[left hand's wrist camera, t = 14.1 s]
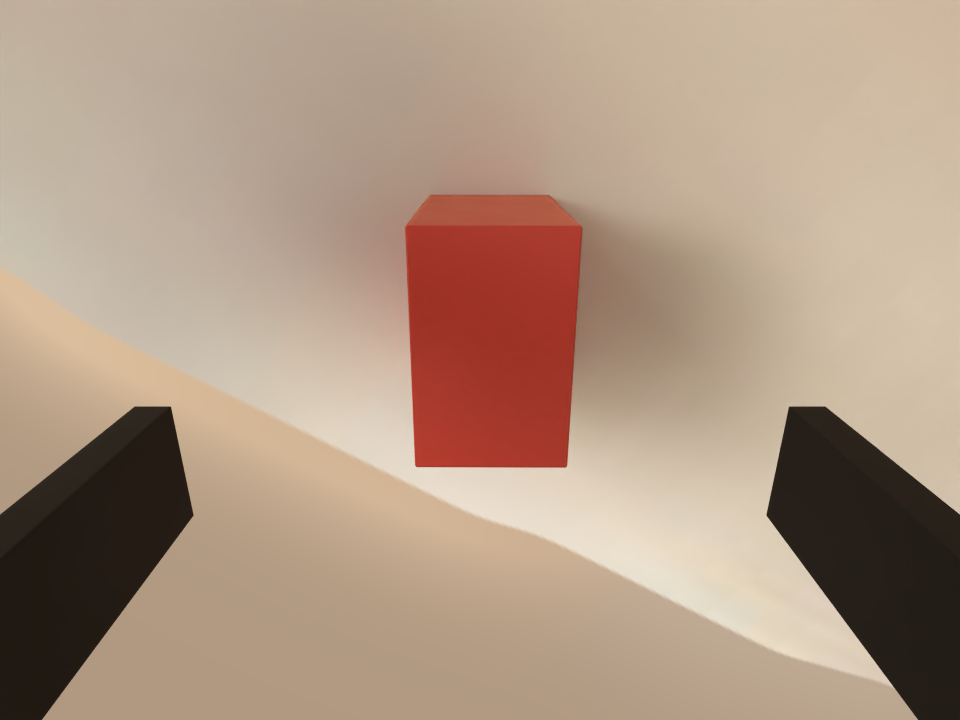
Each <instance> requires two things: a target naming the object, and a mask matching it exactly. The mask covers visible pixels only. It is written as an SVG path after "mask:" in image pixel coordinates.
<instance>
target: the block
mask: <svg viewBox="0 0 960 720" xmlns="http://www.w3.org/2000/svg"><path fill="white" fill-rule="evenodd" d="M405 233H406V257H407V281H408V304H409V328H410V352H411V376H412V400H413V424H414V448H415V465H416V467H567V459H568V444H569V428H570V413H571V397H572V381H573V366H574V350H575V335H576V319H577V304H578V288H579V273H580V257H581V242H582V226H581V225H580V224H579V223H578V222H577V221H576V220H574V219H573V218H572V217H571V216H570V215H569V214H568V213H567V212H566V211H565V210H564V209H563V208H562V207H561V206H560V205H559V204H558V203H557V202H555V201H554V200H553V199H552V198H551V197H550V196H549V195H430V196H429V197H428V198H427V200H426V201H425V202H424V203H423V205H422V206H421V207H420V209H419V210H418V211H417V212H416V214H415V215H414V216H413V217H412V219H411V220H410V221H409V223H408V224H407V225H406V227H405Z"/></svg>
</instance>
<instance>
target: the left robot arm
mask: <svg viewBox="0 0 960 720" xmlns="http://www.w3.org/2000/svg"><path fill="white" fill-rule="evenodd" d="M192 517H193V511H192V506H191V501H190V496H189V492H188V487H187V482H186V477H185V472H184V467H183V463H182V458H181V453H180V448H179V443H178V439H177V434H176V429H175V425H174V420H173V415H172V410H171V407H134V408H133V409H131V410H130V411H129V412H127V413H126V414H125V415H124V416H122V417H121V418H120V419H119V420H117V421H116V422H115V423H114V424H113V425H111V426H110V427H109V428H108V429H106V430H105V431H104V432H103V433H101V434H100V435H99V436H98V437H96V438H95V439H94V440H93V441H91V442H90V443H89V444H88V445H86V446H85V447H84V448H83V449H81V450H80V451H79V452H78V453H76V454H75V455H74V456H73V457H71V458H70V459H69V460H68V461H66V462H65V463H64V464H63V465H61V466H60V467H59V468H58V469H57V470H55V471H54V472H53V473H51V474H50V475H49V476H48V477H46V478H45V479H44V480H43V481H42V482H40V483H39V484H38V485H37V486H35V487H34V488H33V489H32V490H30V491H29V492H28V493H27V494H25V495H24V496H23V497H22V498H20V499H19V500H18V501H17V502H15V503H14V504H13V505H12V506H10V507H9V508H8V509H7V510H5V511H4V512H3V513H2V514H0V720H42V719H43V718H44V716H45V715H46V713H47V712H48V711H49V709H50V708H51V707H52V705H53V704H54V703H55V701H56V700H57V699H58V697H59V696H60V695H61V693H62V692H63V691H64V689H65V688H66V686H67V685H68V684H69V682H70V681H71V680H72V678H73V677H74V676H75V674H76V673H77V672H78V670H79V669H80V668H81V666H82V665H83V664H84V662H85V661H86V660H87V658H88V657H89V656H90V654H91V653H92V651H93V650H94V649H95V647H96V646H97V645H98V643H99V642H100V641H101V639H102V638H103V637H104V635H105V634H106V633H107V631H108V630H109V629H110V627H111V626H112V625H113V623H114V622H115V621H116V619H117V618H118V616H119V615H120V614H121V612H122V611H123V610H124V608H125V607H126V606H127V604H128V603H129V602H130V600H131V599H132V598H133V596H134V595H135V594H136V592H137V591H138V590H139V588H140V587H141V585H142V584H143V583H144V581H145V580H146V579H147V577H148V576H149V575H150V573H151V572H152V571H153V569H154V568H155V567H156V565H157V564H158V563H159V561H160V560H161V559H162V557H163V556H164V554H165V553H166V552H167V550H168V549H169V548H170V546H171V545H172V544H173V542H174V541H175V540H176V538H177V537H178V536H179V534H180V533H181V532H182V530H183V529H184V528H185V526H186V525H187V523H188V522H189V521H190V519H191V518H192ZM767 517H768V518H769V519H770V521H771V522H772V524H773V525H774V526H775V528H776V529H777V530H778V532H779V533H780V534H781V536H782V537H783V538H784V540H785V541H786V542H787V544H788V545H789V546H790V548H791V549H792V550H793V552H794V553H795V555H796V556H797V557H798V559H799V560H800V561H801V563H802V564H803V565H804V567H805V568H806V569H807V571H808V572H809V573H810V575H811V576H812V577H813V579H814V580H815V581H816V583H817V584H818V585H819V587H820V588H821V590H822V591H823V592H824V594H825V595H826V596H827V598H828V599H829V600H830V602H831V603H832V604H833V606H834V607H835V608H836V610H837V611H838V612H839V614H840V615H841V616H842V618H843V619H844V621H845V622H846V623H847V625H848V626H849V627H850V629H851V630H852V631H853V633H854V634H855V635H856V637H857V638H858V639H859V641H860V642H861V643H862V645H863V646H864V647H865V649H866V650H867V652H868V653H869V654H870V656H871V657H872V658H873V660H874V661H875V662H876V664H877V665H878V666H879V668H880V669H881V670H882V672H883V673H884V674H885V676H886V677H887V678H888V680H889V681H890V682H891V684H892V685H893V687H894V688H895V689H896V691H897V692H898V693H899V695H900V696H901V697H902V699H903V700H904V701H905V703H906V704H907V705H908V707H909V708H910V709H911V711H912V712H913V713H914V715H915V716H916V718H917V719H918V720H960V514H958V513H957V512H956V511H955V510H953V509H952V508H951V507H950V506H948V505H947V504H946V503H945V502H943V501H942V500H941V499H940V498H938V497H937V496H936V495H935V494H933V493H932V492H931V491H930V490H928V489H927V488H926V487H925V486H923V485H922V484H921V483H920V482H919V481H917V480H916V479H915V478H914V477H912V476H911V475H910V474H909V473H907V472H906V471H905V470H904V469H902V468H901V467H900V466H899V465H897V464H896V463H895V462H894V461H892V460H891V459H890V458H889V457H887V456H886V455H885V454H884V453H882V452H881V451H880V450H879V449H877V448H876V447H875V446H874V445H872V444H871V443H870V442H869V441H867V440H866V439H865V438H864V437H862V436H861V435H860V434H859V433H857V432H856V431H855V430H854V429H852V428H851V427H850V426H849V425H847V424H846V423H845V422H844V421H843V420H841V419H840V418H839V417H838V416H836V415H835V414H834V413H833V412H831V411H830V410H829V409H828V408H826V407H789V410H788V415H787V419H786V424H785V429H784V434H783V439H782V443H781V448H780V453H779V458H778V463H777V467H776V472H775V477H774V482H773V487H772V491H771V496H770V501H769V506H768V510H767Z"/></svg>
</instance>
